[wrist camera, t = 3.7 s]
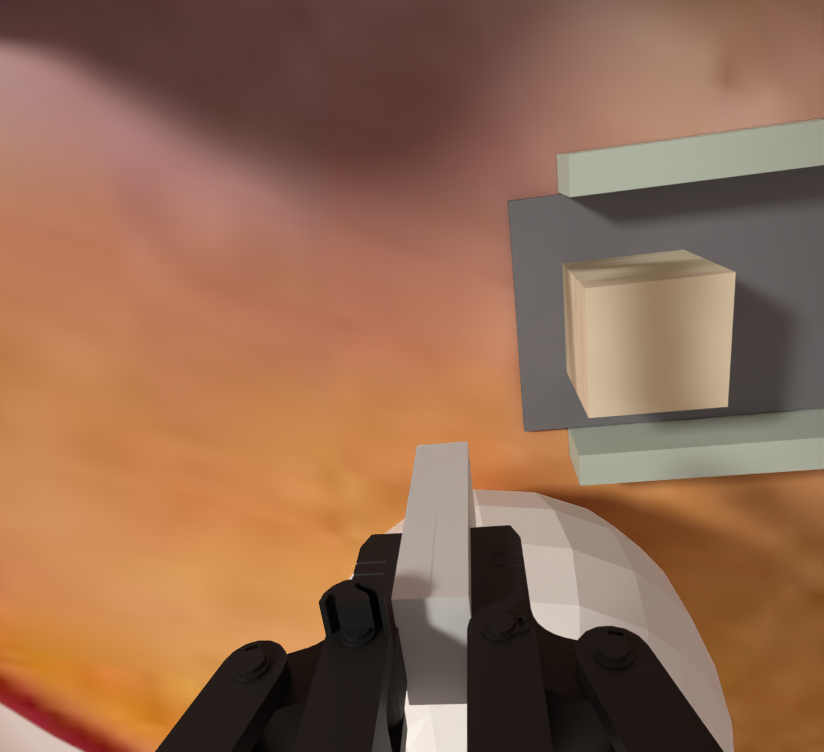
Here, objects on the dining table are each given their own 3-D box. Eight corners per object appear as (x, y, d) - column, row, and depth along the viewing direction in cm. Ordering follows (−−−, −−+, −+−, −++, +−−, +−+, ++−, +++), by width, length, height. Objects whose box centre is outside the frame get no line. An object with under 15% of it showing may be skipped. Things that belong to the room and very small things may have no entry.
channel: (569, 454, 34) (580, 485, 31) (556, 154, 29) (568, 154, 26) (903, 429, 32) (953, 460, 29) (961, 99, 27) (1030, 91, 23)
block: (566, 372, 32) (588, 418, 27) (562, 263, 30) (584, 288, 25) (680, 362, 32) (727, 406, 26) (683, 249, 29) (735, 272, 24)
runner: (524, 428, 34) (525, 434, 33) (507, 200, 30) (509, 202, 29) (1108, 381, 30) (1125, 386, 30) (1188, 114, 26) (1209, 112, 25)
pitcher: (490, 366, 33) (557, 881, 10) (712, 554, 36) (1169, 1286, 13) (298, 564, 39) (51, 1178, 16) (503, 711, 42) (553, 1404, 19)
